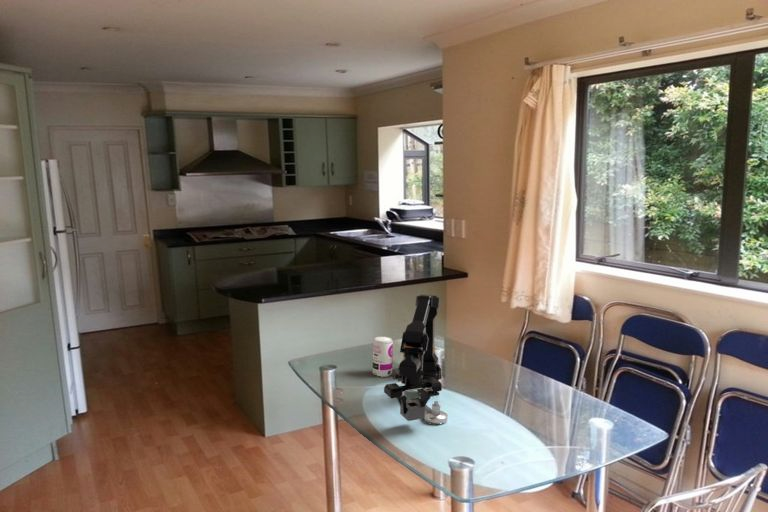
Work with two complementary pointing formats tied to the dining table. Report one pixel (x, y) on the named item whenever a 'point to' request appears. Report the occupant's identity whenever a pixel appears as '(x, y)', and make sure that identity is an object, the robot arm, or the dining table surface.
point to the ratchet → (433, 413)
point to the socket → (413, 410)
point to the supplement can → (382, 356)
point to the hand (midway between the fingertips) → (412, 412)
